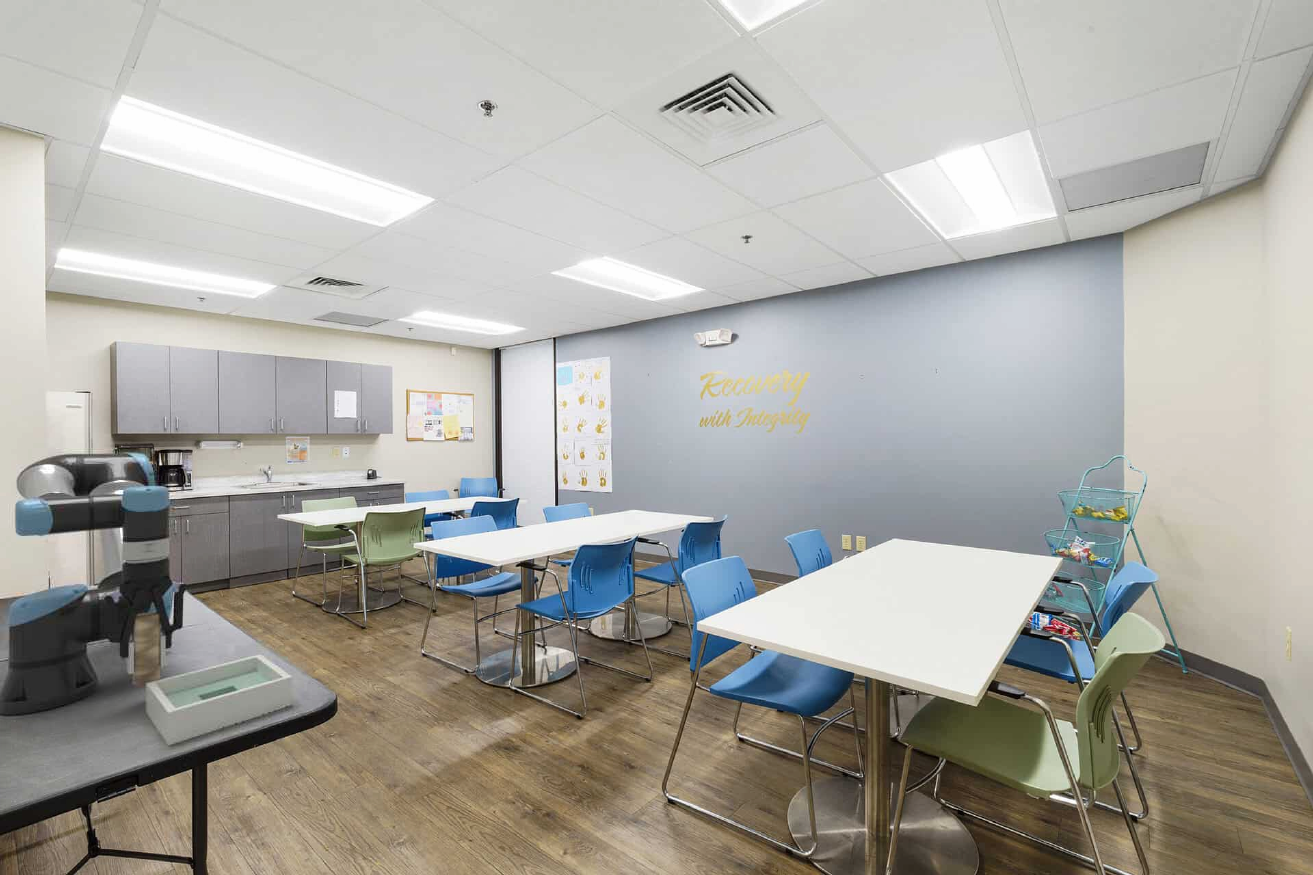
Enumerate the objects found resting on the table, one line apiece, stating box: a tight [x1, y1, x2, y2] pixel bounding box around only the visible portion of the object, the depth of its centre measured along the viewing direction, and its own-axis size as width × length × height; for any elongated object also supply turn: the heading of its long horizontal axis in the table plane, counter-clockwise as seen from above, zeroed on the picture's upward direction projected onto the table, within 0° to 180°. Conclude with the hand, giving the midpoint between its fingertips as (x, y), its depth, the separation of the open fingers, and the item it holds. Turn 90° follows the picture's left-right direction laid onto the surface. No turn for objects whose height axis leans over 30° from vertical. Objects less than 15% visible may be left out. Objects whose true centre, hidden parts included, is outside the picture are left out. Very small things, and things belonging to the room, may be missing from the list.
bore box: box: [145, 654, 293, 746], centre depth 118 cm, size 20×20×6 cm
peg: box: [131, 612, 161, 686], centre depth 121 cm, size 4×4×14 cm
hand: (146, 667), depth 121 cm, fingers closed on peg, 4 cm apart
